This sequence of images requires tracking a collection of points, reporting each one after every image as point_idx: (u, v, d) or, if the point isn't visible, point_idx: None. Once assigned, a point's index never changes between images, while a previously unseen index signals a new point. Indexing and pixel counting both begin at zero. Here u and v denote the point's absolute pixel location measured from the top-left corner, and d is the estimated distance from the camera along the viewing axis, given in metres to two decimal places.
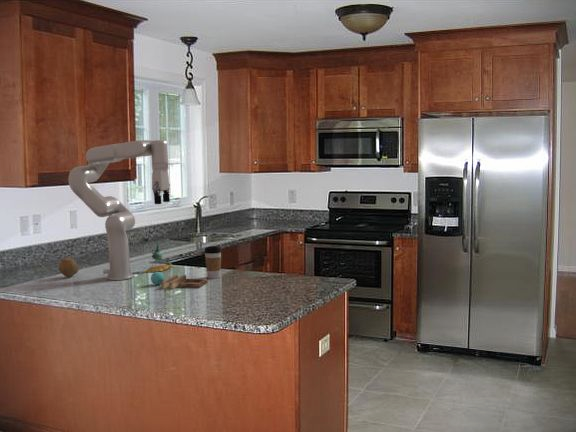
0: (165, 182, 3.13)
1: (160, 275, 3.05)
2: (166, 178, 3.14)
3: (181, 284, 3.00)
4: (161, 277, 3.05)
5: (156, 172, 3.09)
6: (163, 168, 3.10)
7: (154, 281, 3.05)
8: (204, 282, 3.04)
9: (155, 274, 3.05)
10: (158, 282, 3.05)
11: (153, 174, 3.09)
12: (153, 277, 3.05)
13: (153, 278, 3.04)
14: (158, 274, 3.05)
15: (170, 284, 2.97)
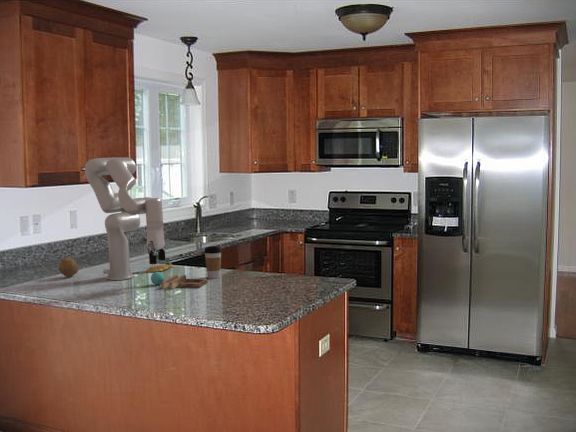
0: (160, 241, 3.04)
1: (160, 275, 3.05)
2: (161, 237, 3.05)
3: (181, 284, 3.00)
4: (161, 277, 3.05)
5: (151, 231, 3.00)
6: (158, 227, 3.01)
7: (154, 281, 3.05)
8: (204, 282, 3.04)
9: (155, 274, 3.05)
10: (158, 282, 3.05)
11: (148, 233, 3.00)
12: (153, 277, 3.05)
13: (153, 278, 3.04)
14: (158, 274, 3.05)
15: (170, 284, 2.97)
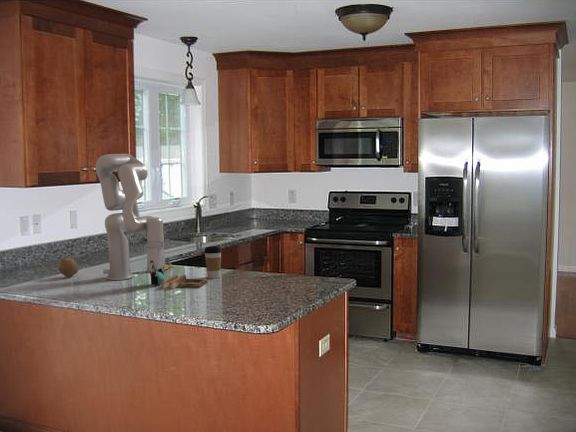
0: (160, 260, 3.05)
1: (160, 275, 3.05)
2: (162, 256, 3.06)
3: (181, 284, 3.00)
4: (161, 277, 3.05)
5: (152, 251, 3.01)
6: (159, 247, 3.02)
7: None
8: (204, 282, 3.04)
9: None
10: (158, 282, 3.05)
11: (148, 253, 3.01)
12: None
13: None
14: (158, 274, 3.05)
15: (170, 284, 2.97)
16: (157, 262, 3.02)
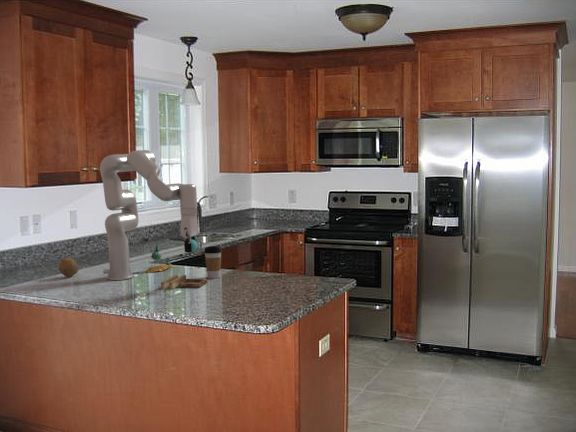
0: (194, 228, 3.00)
1: (194, 242, 3.00)
2: (195, 223, 3.01)
3: (181, 284, 3.00)
4: (195, 244, 3.00)
5: (185, 217, 2.96)
6: (192, 214, 2.98)
7: None
8: (204, 282, 3.04)
9: None
10: (192, 249, 3.00)
11: (182, 220, 2.97)
12: None
13: None
14: (192, 241, 3.00)
15: (170, 284, 2.97)
16: (191, 229, 2.97)
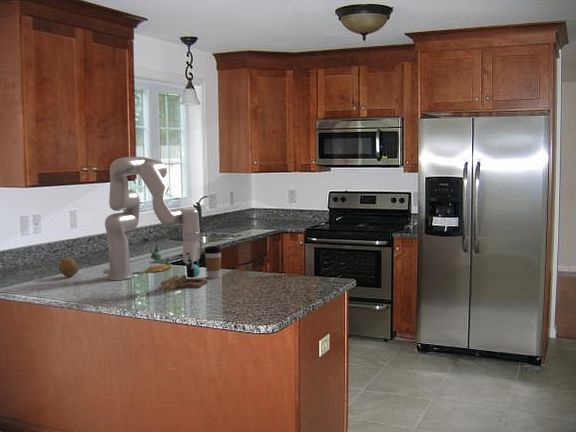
0: (196, 253, 3.02)
1: (196, 267, 3.02)
2: (197, 248, 3.03)
3: (181, 284, 3.00)
4: (197, 269, 3.02)
5: (188, 243, 2.98)
6: (195, 239, 2.99)
7: None
8: (204, 282, 3.04)
9: None
10: (194, 274, 3.01)
11: (184, 245, 2.98)
12: None
13: None
14: (194, 266, 3.02)
15: (170, 284, 2.97)
16: (193, 254, 2.98)
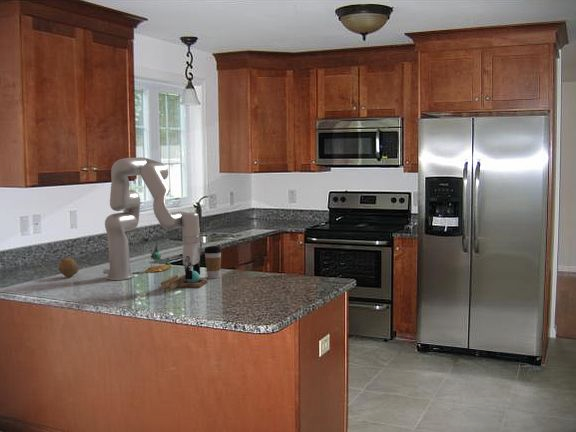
0: (196, 256, 3.02)
1: (196, 274, 3.02)
2: (197, 251, 3.03)
3: (181, 284, 3.00)
4: (197, 276, 3.02)
5: (188, 246, 2.98)
6: (195, 242, 2.99)
7: (190, 280, 3.02)
8: (204, 282, 3.04)
9: None
10: (194, 281, 3.02)
11: (184, 248, 2.98)
12: None
13: None
14: (194, 273, 3.02)
15: (170, 284, 2.97)
16: (193, 257, 2.99)
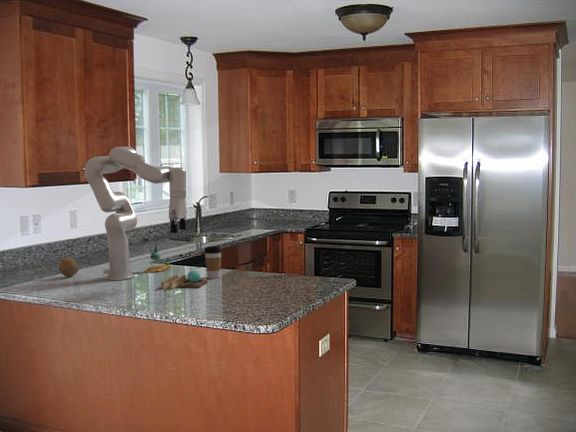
0: (182, 210, 3.07)
1: (197, 272, 3.04)
2: (183, 206, 3.08)
3: (181, 284, 3.00)
4: (198, 274, 3.04)
5: (174, 200, 3.03)
6: (181, 197, 3.04)
7: (191, 277, 3.02)
8: (204, 282, 3.04)
9: (193, 271, 3.04)
10: (194, 279, 3.03)
11: (170, 202, 3.03)
12: (190, 273, 3.03)
13: (190, 274, 3.03)
14: (196, 271, 3.04)
15: (170, 284, 2.97)
16: (179, 211, 3.04)
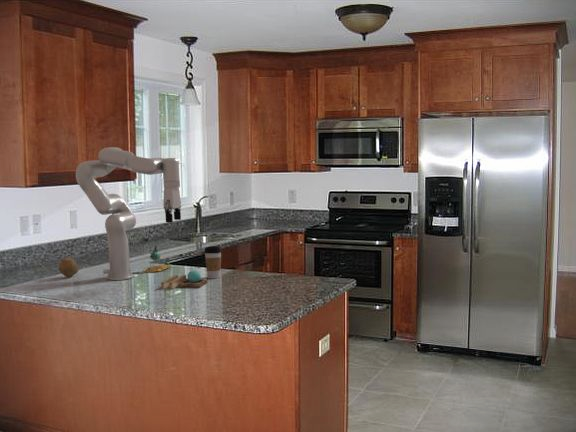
0: (176, 200, 3.10)
1: (198, 272, 3.05)
2: (177, 196, 3.11)
3: (181, 284, 3.00)
4: (198, 274, 3.04)
5: (168, 190, 3.06)
6: (175, 186, 3.08)
7: (191, 276, 3.03)
8: (204, 282, 3.04)
9: (193, 270, 3.05)
10: (194, 278, 3.03)
11: (164, 192, 3.07)
12: (191, 272, 3.04)
13: (190, 273, 3.03)
14: (196, 271, 3.05)
15: (170, 284, 2.97)
16: (173, 201, 3.07)
